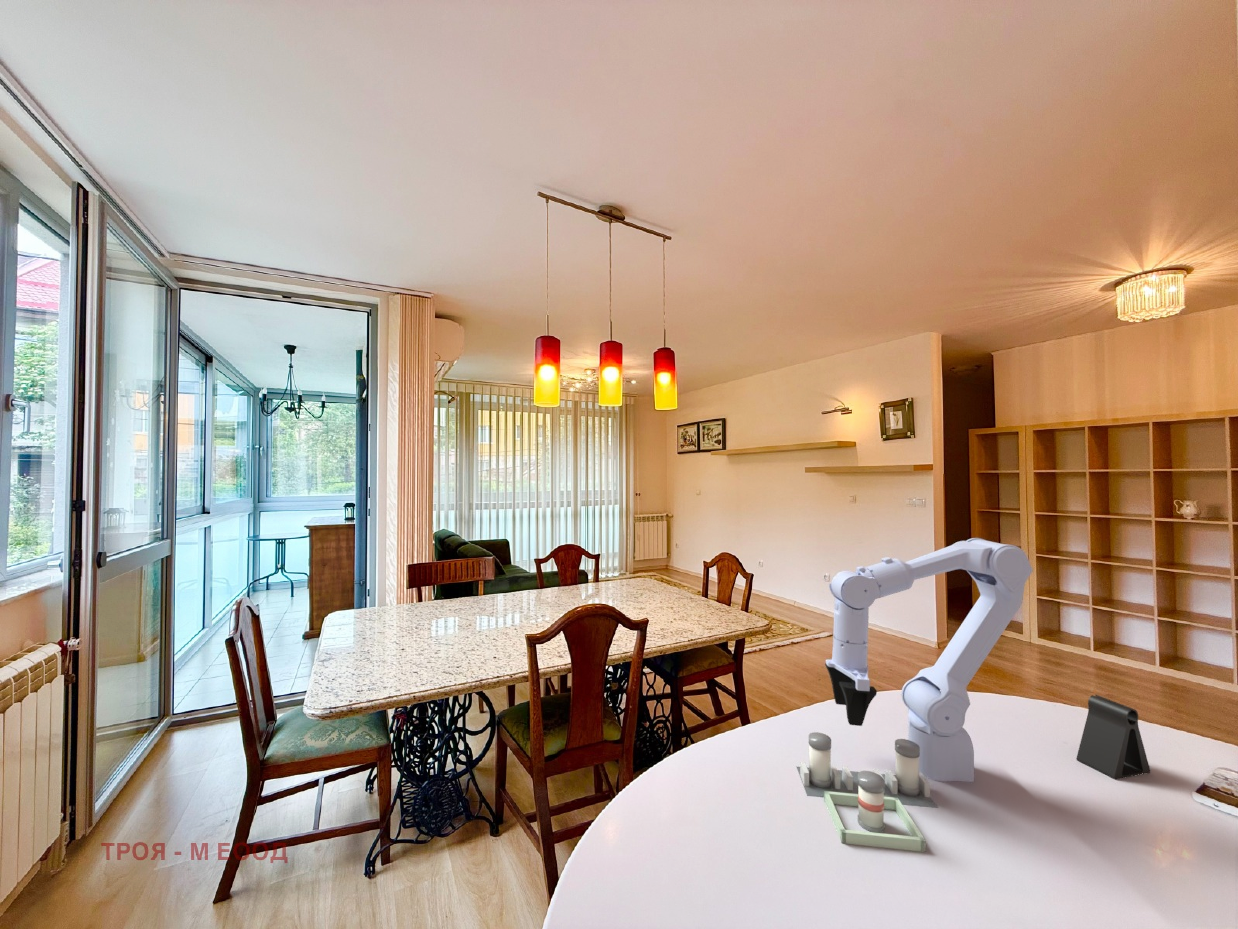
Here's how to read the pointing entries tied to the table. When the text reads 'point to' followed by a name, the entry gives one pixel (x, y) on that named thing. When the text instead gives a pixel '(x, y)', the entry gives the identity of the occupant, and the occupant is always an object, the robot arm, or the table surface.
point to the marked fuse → (871, 801)
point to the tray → (870, 838)
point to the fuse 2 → (907, 767)
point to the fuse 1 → (820, 760)
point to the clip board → (849, 784)
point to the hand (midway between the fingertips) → (848, 713)
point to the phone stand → (1112, 740)
